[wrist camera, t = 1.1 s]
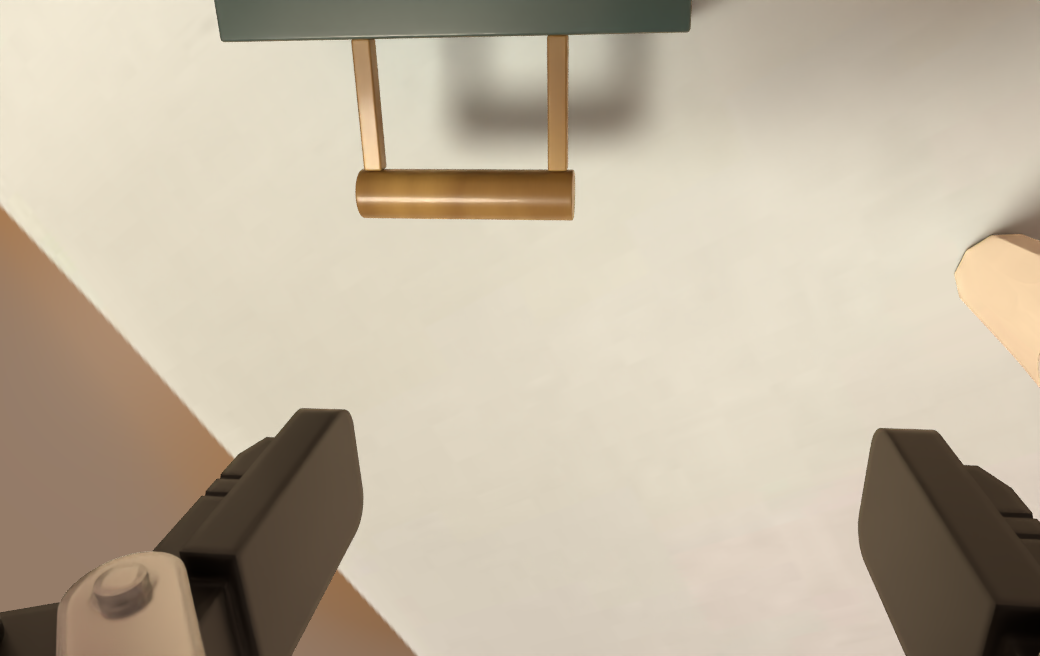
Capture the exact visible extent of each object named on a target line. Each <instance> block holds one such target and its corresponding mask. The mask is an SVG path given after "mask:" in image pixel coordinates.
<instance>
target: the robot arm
mask: <svg viewBox="0 0 1040 656" xmlns="http://www.w3.org/2000/svg"><path fill="white" fill-rule="evenodd" d="M362 510H363V487H362V480H361V473H360V467H359V460H358V453H357V446H356V439H355V432H354V425H353V420H352V417H351V415H350V413H349V412H348V411H347V410H342V409H311V408H301V409H299V410H298V411H297V412H296V413H295V414H294V415H293V416H292V417H291V419H290V420H289V421H288V422H287V423H286V425H285V426H284V427H283V428H282V429H281V430H280V432H279V433H278V434H277V435H276V436H275V438H274V437H266V438H264V439H263V440H261V441H259V442H258V443H256V444H255V445H253V446H251V447H250V448H248V449H246V450H245V451H243V452H242V453H240V454H238V456H237V457H236V458H235V459H234V460H233V461H232V462H231V464H230V465H229V466H228V467H227V468H226V469H225V470H224V471H223V472H222V474H221V478H220V479H216V480H215V481H214V483H213V484H212V485H211V486H210V487H209V488H208V489H207V491H206V494H205V496H201V497H200V498H199V499H198V501H197V502H196V503H195V504H194V505H193V506H192V508H190V509H189V511H188V512H187V513H186V514H185V515H184V516H183V518H181V520H180V521H179V522H178V523H177V524H176V525H175V526H174V528H173V529H172V530H171V531H170V532H169V533H168V534H167V535H166V537H165V538H164V539H163V540H162V541H161V542H160V543H159V544H158V546H157V547H156V548H155V549H154V550H153V551H151V552H140V553H135V554H130V555H127V556H123V557H120V558H117V559H114V560H111V561H109V562H107V563H105V564H103V565H101V566H99V567H97V568H95V569H93V570H92V571H90V572H89V573H87V574H86V575H84V576H83V577H81V578H80V579H79V580H78V581H77V582H76V583H74V584H73V585H72V586H71V587H70V588H69V590H68V591H67V592H66V593H65V595H64V596H63V598H62V599H61V602H59V603H53V604H47V605H41V606H36V607H30V608H24V609H18V610H12V611H6V612H1V613H0V656H292V654H293V652H294V649H295V648H296V646H297V644H298V642H299V640H300V638H301V637H302V634H303V633H304V631H305V629H306V627H307V625H308V623H309V621H310V619H311V617H312V616H313V614H314V612H315V610H316V608H317V606H318V604H319V602H320V600H321V598H322V596H323V595H324V592H325V591H326V589H327V587H328V585H329V583H330V581H331V579H332V577H333V575H334V574H335V572H336V570H337V568H338V566H339V564H340V562H341V560H342V558H343V556H344V555H345V553H346V551H347V549H348V547H349V545H350V543H351V541H352V539H353V537H354V536H355V534H356V532H357V529H358V527H359V524H360V520H361V516H362ZM1032 514H1033V513H1032V512H1031V511H1030V510H1029V509H1028V507H1027V506H1026V505H1025V504H1024V503H1023V501H1022V500H1021V499H1020V498H1019V497H1018V495H1017V494H1016V493H1015V492H1014V490H1013V489H1012V488H1011V487H1009V486H1008V485H1006V484H1005V483H1003V482H1002V481H1000V480H998V479H997V478H995V477H994V476H992V475H991V474H989V473H988V472H986V471H985V470H983V469H982V468H980V467H979V466H970V465H963V464H962V462H961V461H960V460H959V459H958V457H957V456H956V455H955V453H954V452H953V451H952V449H951V448H950V447H949V445H948V444H947V443H946V441H945V440H944V439H943V437H942V436H941V435H940V434H939V433H938V432H937V431H935V430H922V429H892V428H879V429H878V430H876V432H875V433H874V435H873V438H872V442H871V447H870V453H869V459H868V465H867V470H866V476H865V482H864V488H863V494H862V500H861V506H860V512H859V519H858V535H859V544H860V549H861V554H862V557H863V560H864V562H865V565H866V567H867V569H868V571H869V574H870V576H871V578H872V580H873V583H874V585H875V587H876V590H877V592H878V594H879V596H880V599H881V601H882V603H883V605H884V608H885V610H886V612H887V614H888V617H889V619H890V621H891V623H892V626H893V628H894V630H895V633H896V635H897V637H898V639H899V642H900V644H901V646H902V648H903V651H904V653H905V655H906V656H1040V522H1039V521H1038V520H1037V519H1033V516H1032Z"/></svg>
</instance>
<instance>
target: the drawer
mask: <svg viewBox="0 0 1040 656" xmlns="http://www.w3.org/2000/svg"><path fill="white" fill-rule="evenodd" d="M214 2H215V8H216V14H217V20H218V26H219V32H220V38H221V41H223V42H252V41H300V40H348V39H352V41H351V43H352V53H353V62H354V72H355V82H356V92H357V102H358V112H359V121H360V131H361V141H362V151H363V161H364V169H362V170H361V171H360V172H359V174H358V176H357V181H356V203H357V207H358V210H359V213H360V215H361V216H362V217H364V218H412V219H497V220H573V218H574V209H575V173H574V170H567V168H568V55H569V37H568V35H587V34H635V33H682V32H689V31H690V27H691V11H692V0H214ZM539 35H548V37H547V91H548V170H496V169H385V168H386V156H385V145H384V134H383V123H382V112H381V101H380V90H379V79H378V68H377V56H376V45H375V39H396V38H443V37H491V36H539Z"/></svg>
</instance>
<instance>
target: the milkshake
mask: <svg viewBox="0 0 1040 656" xmlns="http://www.w3.org/2000/svg"><path fill="white" fill-rule="evenodd" d="M954 276H955V280H956V285H957V289H958V294H959V297H960V299H961V300H962V301H963V302H964V303H965V304H966V305H967V307H968V308H969V309H970V310H971V311H972V312H973V313H974V314H975V315H976V316H977V317H978V318H979V320H980V321H981V322H982V323H983V324H984V325H985V326H986V327H987V328H988V329H989V330H990V331H991V333H992V334H993V335H994V336H995V337H996V338H997V339H998V340H999V341H1000V342H1001V343H1002V344H1003V346H1004V347H1005V348H1006V349H1007V350H1008V351H1009V352H1010V353H1011V354H1012V355H1013V356H1014V358H1015V359H1016V360H1017V361H1018V362H1019V364H1020V365H1021V366H1022V367H1023V368H1024V369H1025V371H1026V372H1027V373H1028V374H1029V375H1030V377H1031V378H1032V379H1033V380H1034V382H1035V383H1036V384H1037V385H1038V386H1039V388H1040V241H1039V240H1037V239H1034V238H1031V237H1028V236H1026V235H1023V234H1005V235H991V236H989V237H987V238H986V239H984V240H983V241H981V242H979V243H978V244H976V245H975V246H973V247H971V248H970V249H968V250H966V252H965V254H964V256H963V258H962V260H961V262H960V264H959V266H958V268H957V270H956V272H955V274H954Z"/></svg>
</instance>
